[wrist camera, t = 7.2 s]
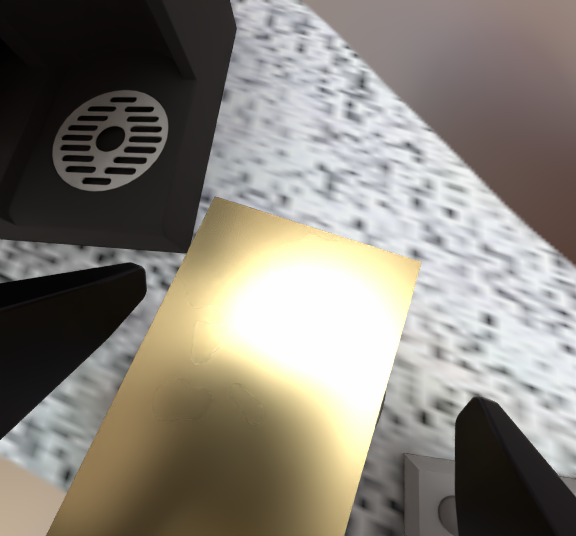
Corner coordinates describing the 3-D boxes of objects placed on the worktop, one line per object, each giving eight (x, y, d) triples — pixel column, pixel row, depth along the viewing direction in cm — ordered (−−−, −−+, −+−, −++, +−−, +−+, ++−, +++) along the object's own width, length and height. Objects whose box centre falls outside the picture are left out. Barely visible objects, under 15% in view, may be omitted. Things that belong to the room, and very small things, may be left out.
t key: (305, 451, 13) (270, 792, 3) (236, 419, 14) (9, 608, 4) (346, 327, 15) (421, 261, 4) (282, 303, 16) (214, 196, 5)
